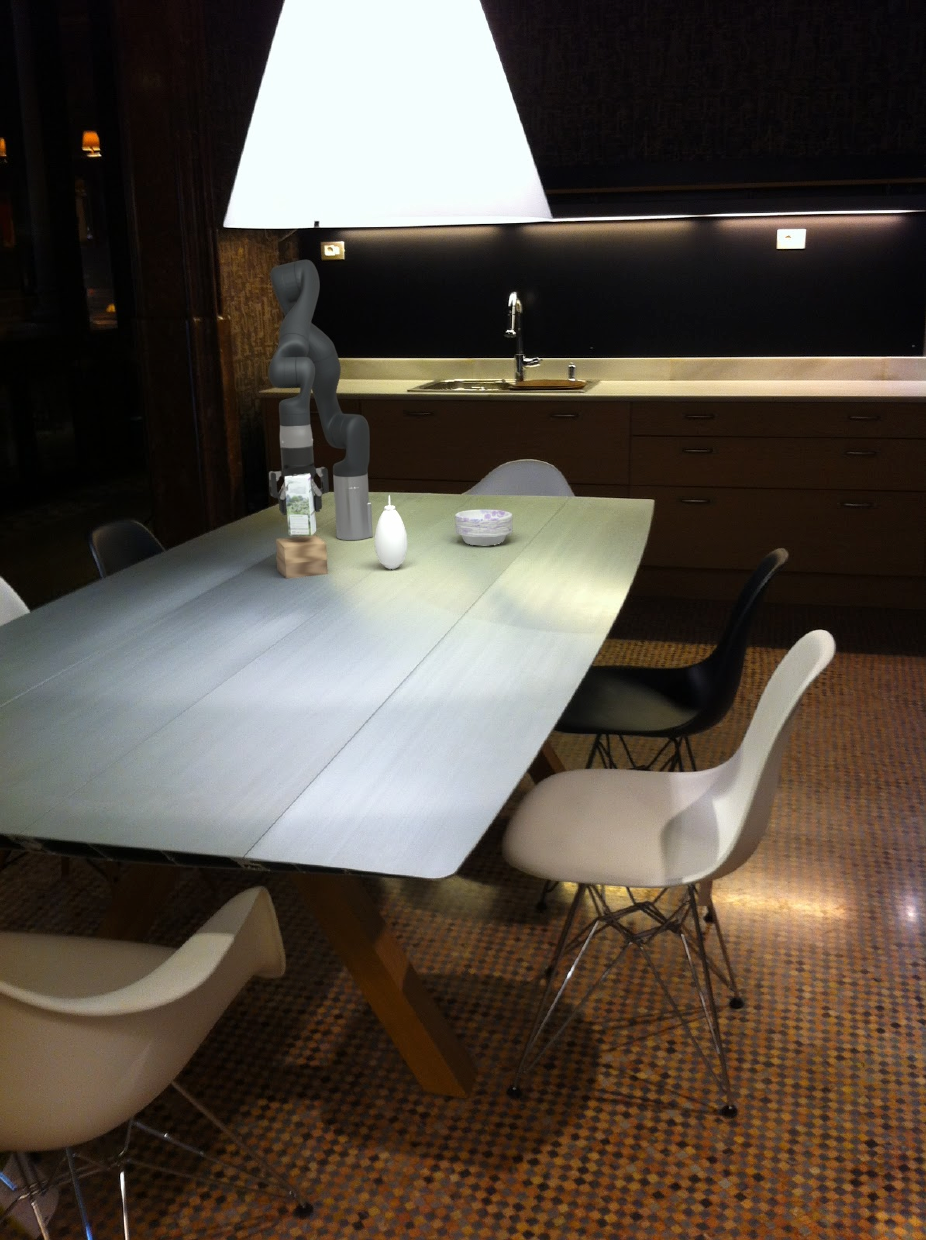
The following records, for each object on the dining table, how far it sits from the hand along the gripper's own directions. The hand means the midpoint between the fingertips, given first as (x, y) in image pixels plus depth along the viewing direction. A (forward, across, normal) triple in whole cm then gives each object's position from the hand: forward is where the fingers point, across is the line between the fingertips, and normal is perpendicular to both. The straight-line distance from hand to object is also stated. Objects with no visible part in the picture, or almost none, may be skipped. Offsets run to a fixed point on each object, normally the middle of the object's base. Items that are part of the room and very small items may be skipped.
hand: (300, 512), depth 277 cm
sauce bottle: (+15, -20, +7) cm, 26 cm away
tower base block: (+15, +1, 0) cm, 15 cm away
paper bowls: (+15, -51, -9) cm, 54 cm away
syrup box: (+5, 0, 0) cm, 5 cm away
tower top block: (+11, 0, 0) cm, 11 cm away
